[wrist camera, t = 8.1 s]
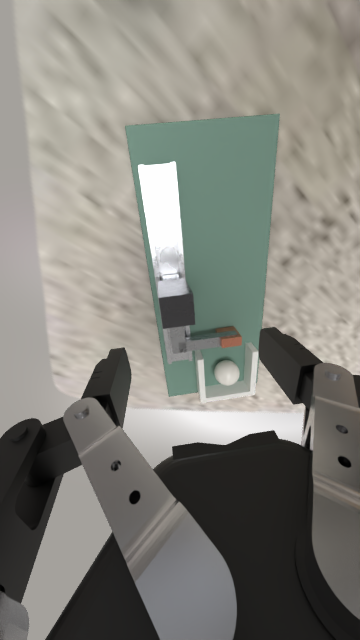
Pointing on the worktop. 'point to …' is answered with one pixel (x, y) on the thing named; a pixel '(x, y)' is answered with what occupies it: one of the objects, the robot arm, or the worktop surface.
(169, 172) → the rail
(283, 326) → the worktop surface
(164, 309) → the block
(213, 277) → the field
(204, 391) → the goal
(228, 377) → the ball
